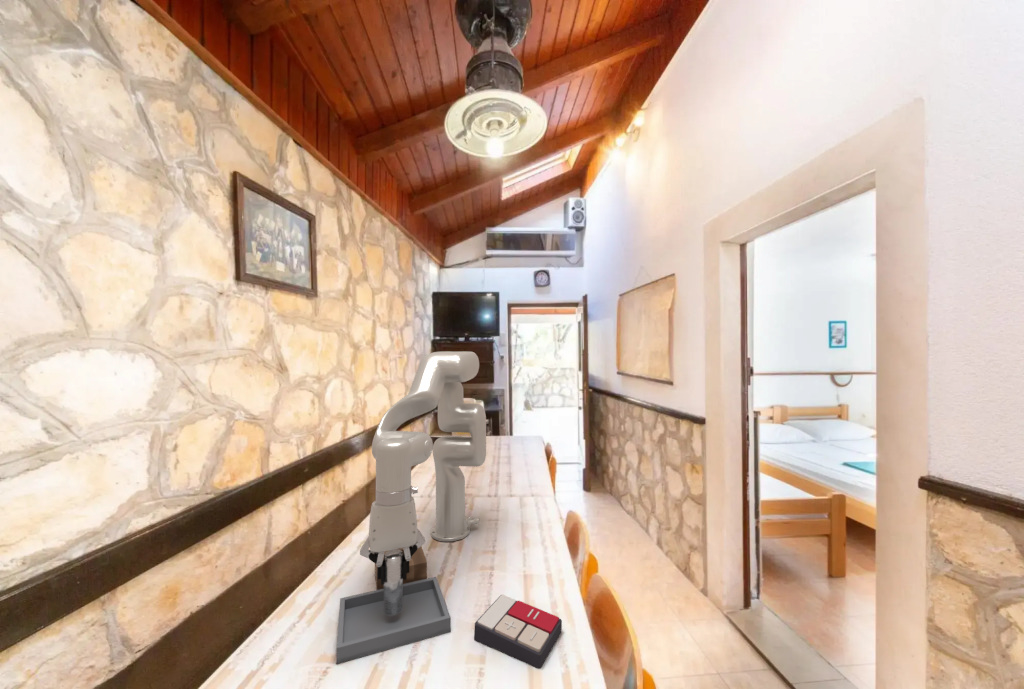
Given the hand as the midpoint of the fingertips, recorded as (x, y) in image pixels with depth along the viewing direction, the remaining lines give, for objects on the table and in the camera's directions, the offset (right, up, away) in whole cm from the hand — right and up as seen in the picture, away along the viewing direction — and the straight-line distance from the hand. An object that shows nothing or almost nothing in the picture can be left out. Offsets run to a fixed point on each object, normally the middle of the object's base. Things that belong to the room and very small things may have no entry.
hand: (393, 578), depth 84 cm
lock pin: (0, -7, 0) cm, 7 cm away
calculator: (+28, -10, -5) cm, 30 cm away
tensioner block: (-3, -10, +16) cm, 19 cm away
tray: (0, -9, 0) cm, 9 cm away
